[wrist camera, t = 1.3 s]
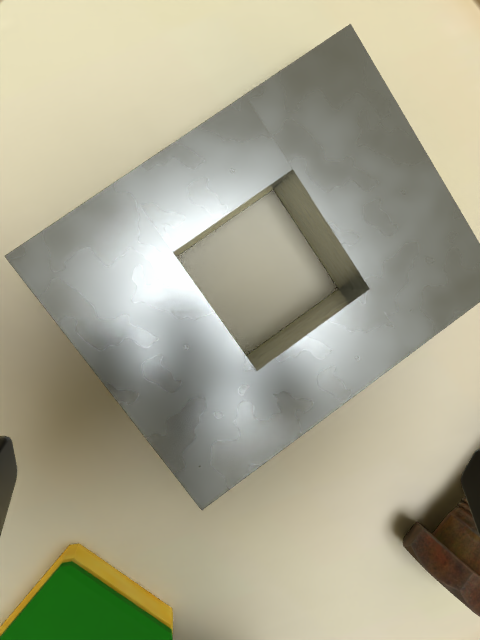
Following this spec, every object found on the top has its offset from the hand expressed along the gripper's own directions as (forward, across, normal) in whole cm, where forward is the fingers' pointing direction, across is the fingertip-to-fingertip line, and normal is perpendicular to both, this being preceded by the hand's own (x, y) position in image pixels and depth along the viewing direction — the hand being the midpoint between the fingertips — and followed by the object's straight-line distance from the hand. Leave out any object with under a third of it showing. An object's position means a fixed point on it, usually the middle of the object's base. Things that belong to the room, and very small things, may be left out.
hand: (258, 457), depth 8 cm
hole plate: (+16, -2, +3) cm, 16 cm away
